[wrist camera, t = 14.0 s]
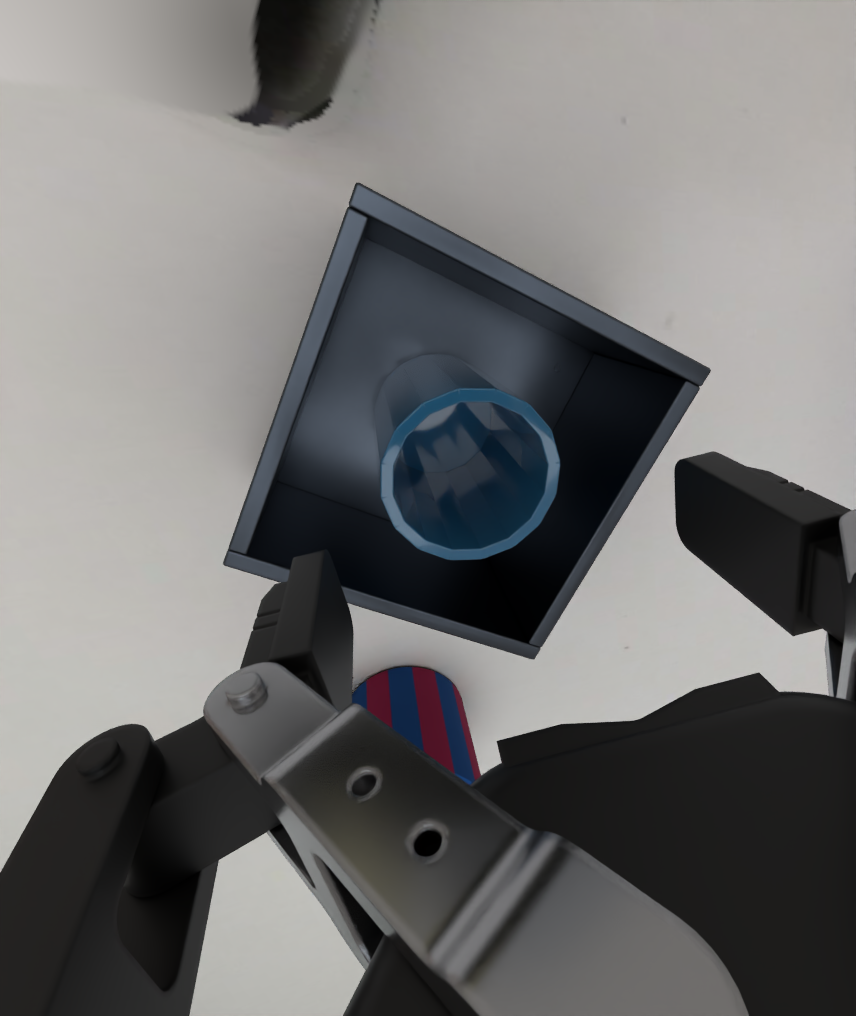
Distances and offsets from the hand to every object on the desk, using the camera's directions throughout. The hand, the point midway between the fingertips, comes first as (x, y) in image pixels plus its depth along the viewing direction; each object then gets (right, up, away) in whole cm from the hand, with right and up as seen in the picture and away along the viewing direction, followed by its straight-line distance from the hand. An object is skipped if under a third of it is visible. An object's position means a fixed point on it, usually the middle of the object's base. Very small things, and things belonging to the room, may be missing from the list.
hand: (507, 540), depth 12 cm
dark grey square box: (-2, +5, +12) cm, 13 cm away
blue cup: (-1, +5, +11) cm, 12 cm away
